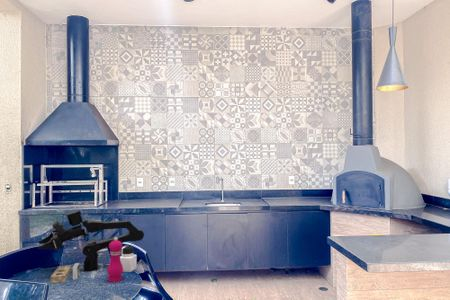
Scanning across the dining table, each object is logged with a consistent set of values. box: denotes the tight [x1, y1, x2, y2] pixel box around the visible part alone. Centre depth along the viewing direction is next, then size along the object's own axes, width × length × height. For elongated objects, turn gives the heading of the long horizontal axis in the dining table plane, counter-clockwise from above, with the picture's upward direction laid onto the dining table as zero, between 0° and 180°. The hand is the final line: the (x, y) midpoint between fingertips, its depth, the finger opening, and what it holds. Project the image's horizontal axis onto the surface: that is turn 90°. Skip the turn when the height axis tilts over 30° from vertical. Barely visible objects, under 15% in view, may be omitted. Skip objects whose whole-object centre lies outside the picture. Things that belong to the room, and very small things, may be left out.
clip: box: [72, 262, 81, 281], centre depth 166 cm, size 2×7×6 cm, turn 14°
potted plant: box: [120, 245, 138, 273], centre depth 179 cm, size 7×7×12 cm
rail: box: [50, 265, 72, 284], centre depth 167 cm, size 6×17×3 cm, turn 15°
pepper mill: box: [106, 236, 123, 283], centre depth 163 cm, size 7×7×20 cm
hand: (38, 245), depth 169 cm, fingers open, 9 cm apart
